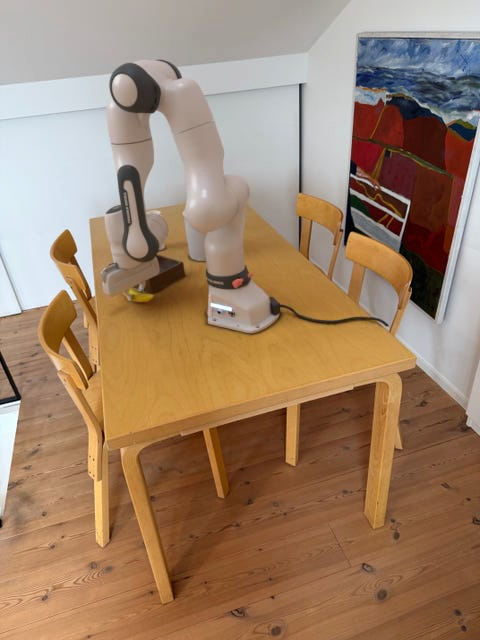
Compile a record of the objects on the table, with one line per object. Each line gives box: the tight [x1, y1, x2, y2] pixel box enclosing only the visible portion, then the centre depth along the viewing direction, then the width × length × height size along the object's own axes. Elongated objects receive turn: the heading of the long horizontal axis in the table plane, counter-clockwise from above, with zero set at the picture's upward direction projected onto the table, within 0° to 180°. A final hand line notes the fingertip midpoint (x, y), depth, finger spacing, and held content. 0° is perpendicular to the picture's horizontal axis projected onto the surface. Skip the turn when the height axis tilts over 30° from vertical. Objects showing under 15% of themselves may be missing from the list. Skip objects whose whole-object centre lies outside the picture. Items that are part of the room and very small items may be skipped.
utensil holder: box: [182, 209, 207, 262], centre depth 173 cm, size 15×15×18 cm
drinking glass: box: [146, 210, 166, 252], centre depth 182 cm, size 7×7×15 cm
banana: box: [121, 288, 155, 303], centre depth 147 cm, size 3×19×6 cm, turn 50°
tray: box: [108, 253, 186, 295], centre depth 163 cm, size 22×15×6 cm
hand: (136, 296), depth 148 cm, fingers closed on banana, 3 cm apart
